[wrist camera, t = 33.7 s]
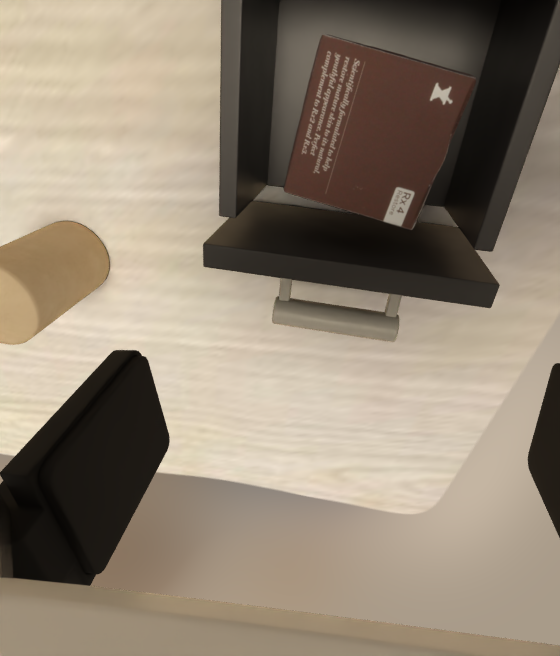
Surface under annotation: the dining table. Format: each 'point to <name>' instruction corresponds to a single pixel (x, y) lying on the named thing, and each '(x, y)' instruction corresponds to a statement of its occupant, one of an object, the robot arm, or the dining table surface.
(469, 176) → the drawer
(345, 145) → the box
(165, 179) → the dining table surface
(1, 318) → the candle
